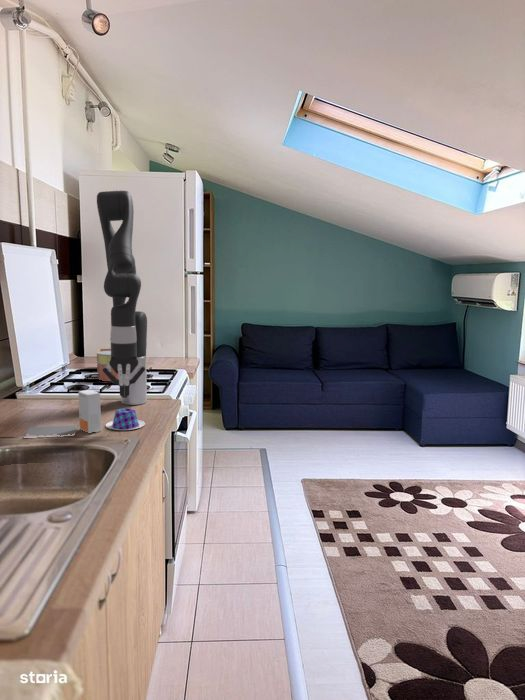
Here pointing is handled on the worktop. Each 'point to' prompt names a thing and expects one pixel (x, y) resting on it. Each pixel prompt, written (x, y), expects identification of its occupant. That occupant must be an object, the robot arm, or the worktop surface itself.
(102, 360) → the canned food
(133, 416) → the pudding
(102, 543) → the worktop surface
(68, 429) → the mat
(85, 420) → the skincare box
